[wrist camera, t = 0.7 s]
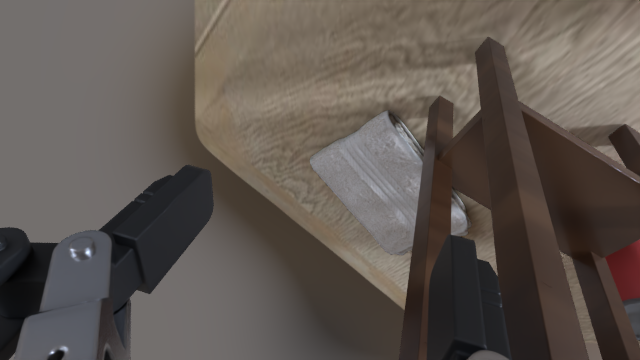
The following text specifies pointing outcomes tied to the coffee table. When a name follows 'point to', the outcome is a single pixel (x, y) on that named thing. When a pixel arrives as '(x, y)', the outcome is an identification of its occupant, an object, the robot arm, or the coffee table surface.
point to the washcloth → (382, 181)
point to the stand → (529, 219)
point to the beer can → (628, 280)
